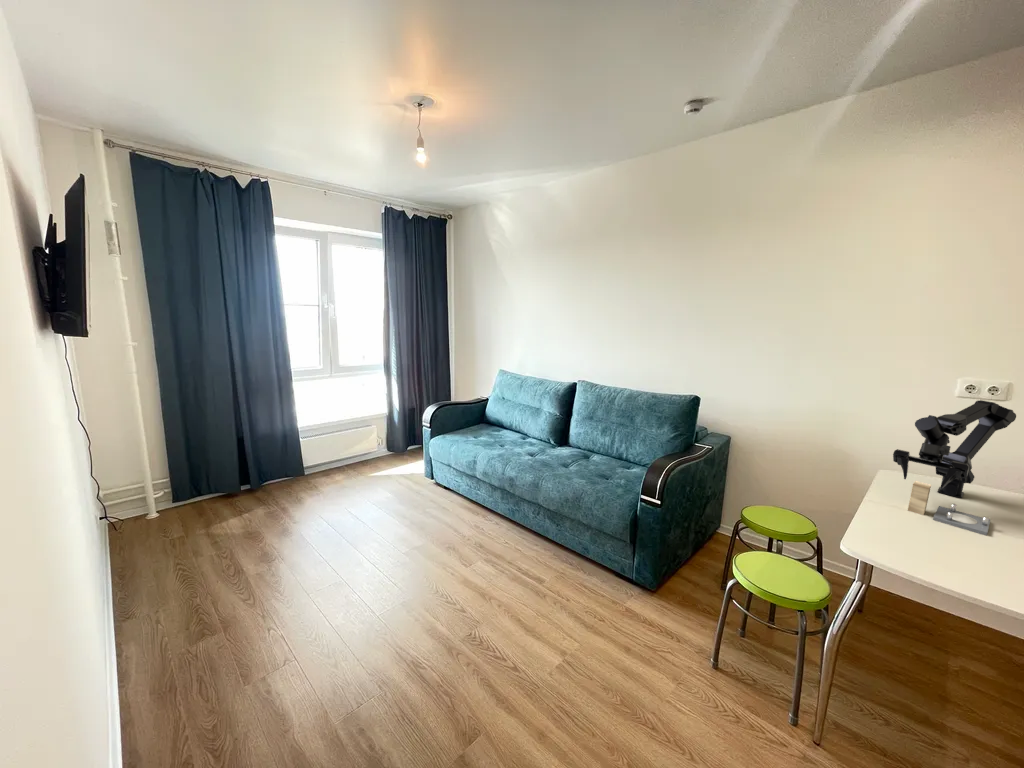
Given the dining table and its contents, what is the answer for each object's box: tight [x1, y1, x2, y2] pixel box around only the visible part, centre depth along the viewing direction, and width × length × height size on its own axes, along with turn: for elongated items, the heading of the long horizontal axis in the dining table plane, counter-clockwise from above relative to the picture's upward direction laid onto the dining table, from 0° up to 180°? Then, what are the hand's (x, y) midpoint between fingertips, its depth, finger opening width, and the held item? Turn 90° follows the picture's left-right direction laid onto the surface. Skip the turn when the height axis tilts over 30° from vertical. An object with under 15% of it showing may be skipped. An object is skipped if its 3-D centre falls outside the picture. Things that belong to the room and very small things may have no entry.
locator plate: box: [932, 503, 991, 536], centre depth 136 cm, size 12×12×4 cm
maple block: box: [907, 480, 932, 516], centre depth 143 cm, size 4×4×10 cm
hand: (922, 483), depth 143 cm, fingers open, 9 cm apart
